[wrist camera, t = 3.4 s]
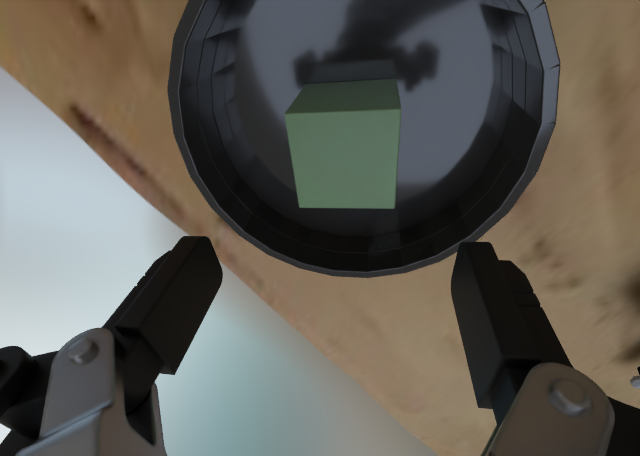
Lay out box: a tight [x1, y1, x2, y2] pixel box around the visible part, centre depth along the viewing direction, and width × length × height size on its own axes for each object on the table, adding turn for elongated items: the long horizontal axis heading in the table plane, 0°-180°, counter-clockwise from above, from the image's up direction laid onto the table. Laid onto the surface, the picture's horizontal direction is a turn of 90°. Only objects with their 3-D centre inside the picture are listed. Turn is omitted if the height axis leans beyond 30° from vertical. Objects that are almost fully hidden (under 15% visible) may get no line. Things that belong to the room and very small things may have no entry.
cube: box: [284, 79, 402, 209], centre depth 17 cm, size 5×5×5 cm
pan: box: [168, 0, 560, 278], centre depth 17 cm, size 18×18×4 cm
